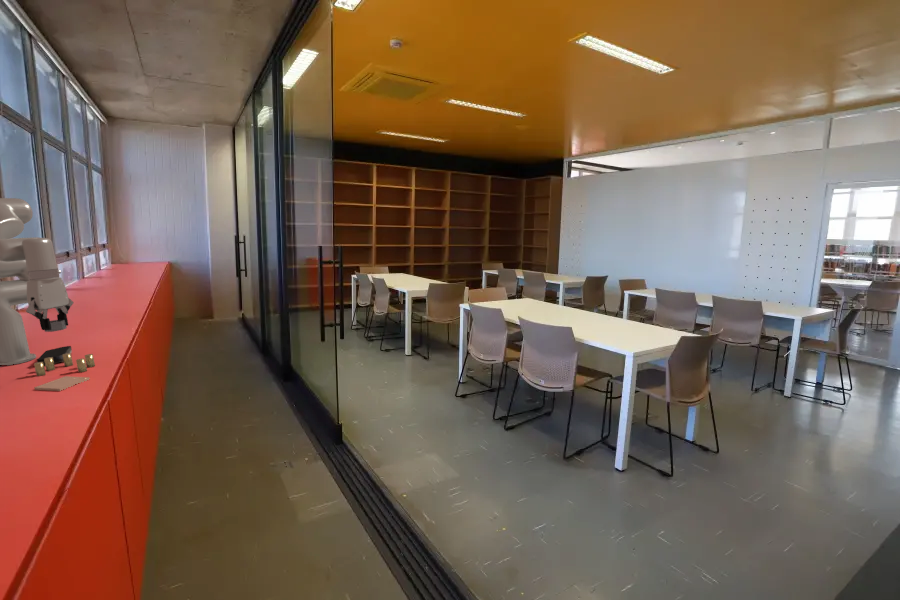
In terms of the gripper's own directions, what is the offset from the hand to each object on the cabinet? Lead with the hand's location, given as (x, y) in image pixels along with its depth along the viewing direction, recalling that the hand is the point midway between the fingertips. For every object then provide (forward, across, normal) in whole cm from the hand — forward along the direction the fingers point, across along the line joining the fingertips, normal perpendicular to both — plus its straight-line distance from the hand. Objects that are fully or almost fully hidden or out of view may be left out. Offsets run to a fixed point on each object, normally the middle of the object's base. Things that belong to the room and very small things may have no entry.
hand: (55, 327), depth 152 cm
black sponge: (+18, -17, -24) cm, 35 cm away
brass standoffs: (+18, -6, -7) cm, 20 cm away
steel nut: (+1, 0, 0) cm, 1 cm away
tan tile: (+18, +6, +6) cm, 20 cm away
